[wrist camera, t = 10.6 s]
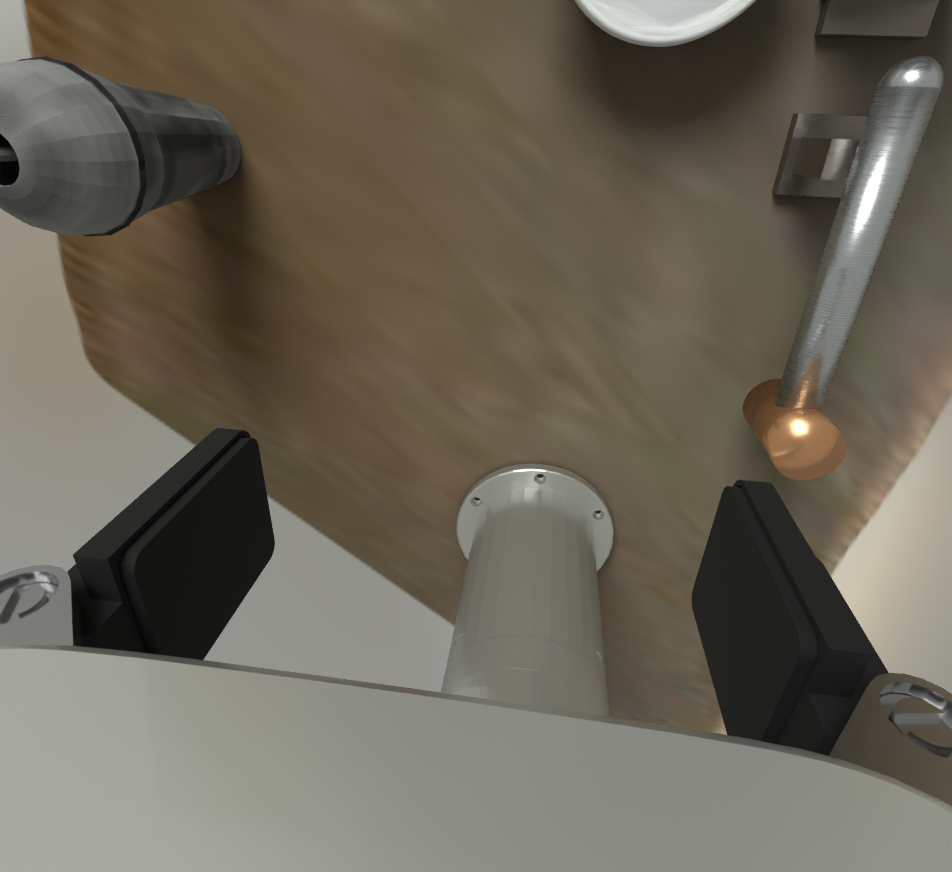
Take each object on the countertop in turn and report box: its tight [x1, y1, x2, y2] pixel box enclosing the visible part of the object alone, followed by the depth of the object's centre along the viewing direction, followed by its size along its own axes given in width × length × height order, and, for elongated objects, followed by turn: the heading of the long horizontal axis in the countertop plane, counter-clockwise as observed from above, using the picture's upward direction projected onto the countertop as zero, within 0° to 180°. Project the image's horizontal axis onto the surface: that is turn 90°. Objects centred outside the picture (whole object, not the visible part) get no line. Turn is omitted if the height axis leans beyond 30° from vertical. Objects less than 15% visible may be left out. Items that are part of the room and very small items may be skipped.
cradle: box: [772, 114, 868, 198], centre depth 30 cm, size 4×5×5 cm
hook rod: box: [743, 56, 944, 481], centre depth 29 cm, size 20×4×6 cm, turn 178°
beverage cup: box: [0, 56, 241, 236], centre depth 27 cm, size 7×7×20 cm
